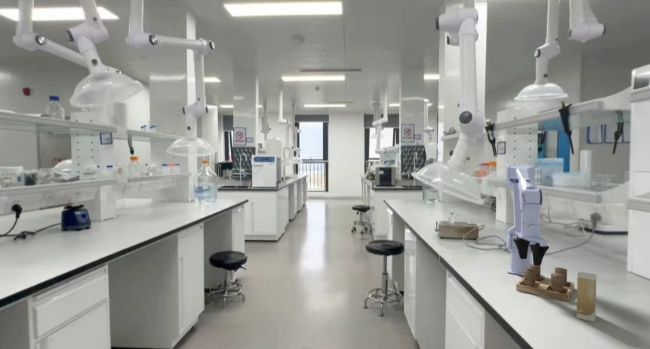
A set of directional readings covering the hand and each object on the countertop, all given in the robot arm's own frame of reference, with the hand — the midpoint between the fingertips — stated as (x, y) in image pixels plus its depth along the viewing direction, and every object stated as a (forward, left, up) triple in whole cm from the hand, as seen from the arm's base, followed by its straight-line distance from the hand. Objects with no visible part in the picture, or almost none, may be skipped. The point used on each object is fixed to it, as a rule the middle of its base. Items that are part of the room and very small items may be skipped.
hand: (530, 261), depth 121 cm
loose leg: (0, 0, -10) cm, 10 cm away
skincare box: (+14, +17, -10) cm, 24 cm away
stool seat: (-4, +4, -10) cm, 11 cm away
